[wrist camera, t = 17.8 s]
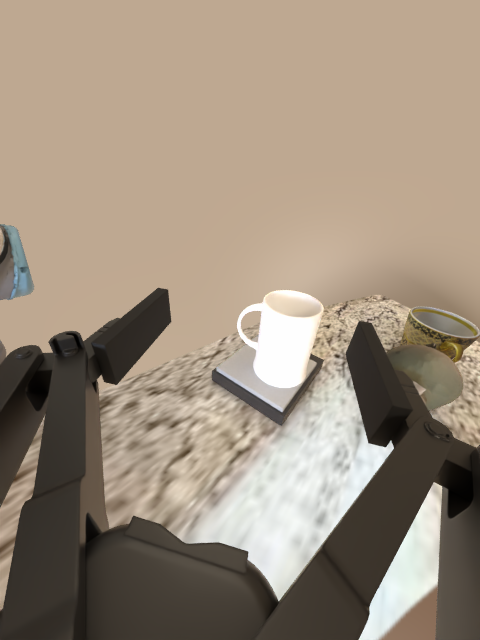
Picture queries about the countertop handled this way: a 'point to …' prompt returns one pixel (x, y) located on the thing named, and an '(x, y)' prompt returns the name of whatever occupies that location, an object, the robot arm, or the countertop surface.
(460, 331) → the ceramic cup
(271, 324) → the mug
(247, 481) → the countertop surface
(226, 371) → the scale
